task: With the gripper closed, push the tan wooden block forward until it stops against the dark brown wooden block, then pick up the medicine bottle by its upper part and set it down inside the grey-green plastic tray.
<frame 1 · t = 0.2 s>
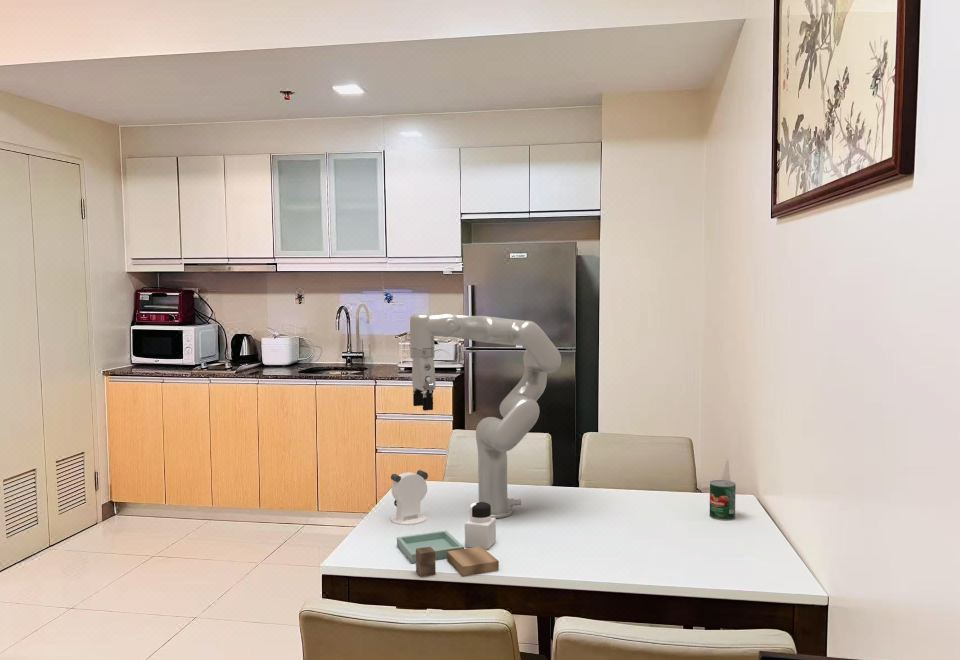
hand: (423, 407, 225), 37 cm above the table, tool pointing down, fingers open, 9 cm apart
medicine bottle: (480, 545, 207), on the table
panda figurine: (409, 519, 231), on the table
tray: (429, 550, 202), on the table
tan wooden block: (472, 567, 191), on the table
dark brown wooden block: (425, 572, 186), on the table
canned tomato: (722, 517, 230), on the table
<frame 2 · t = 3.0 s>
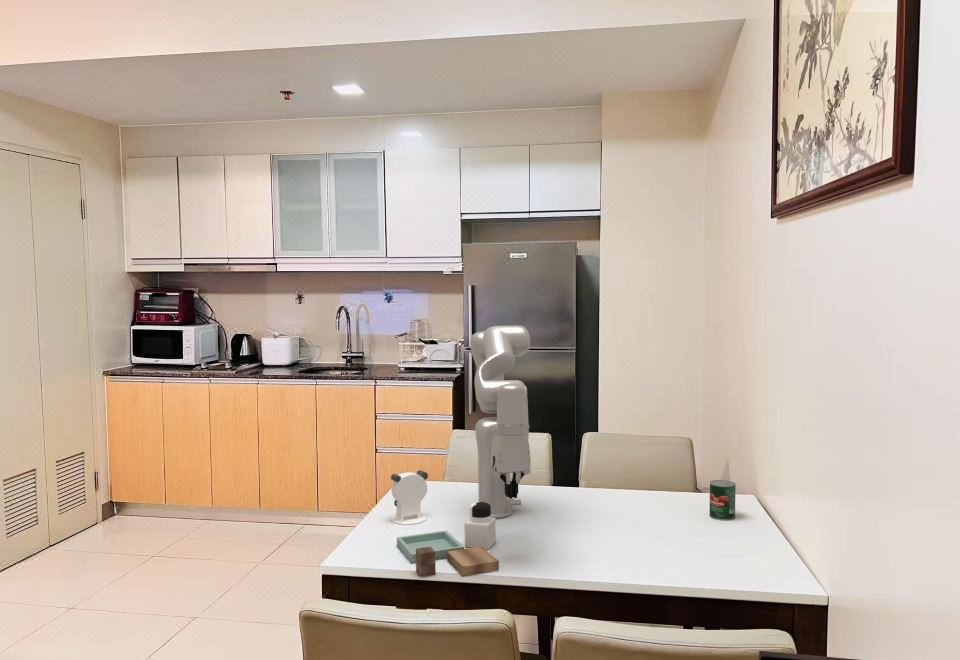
hand: (511, 496, 194), 17 cm above the table, tool pointing down, fingers closed
nothing on the table moved.
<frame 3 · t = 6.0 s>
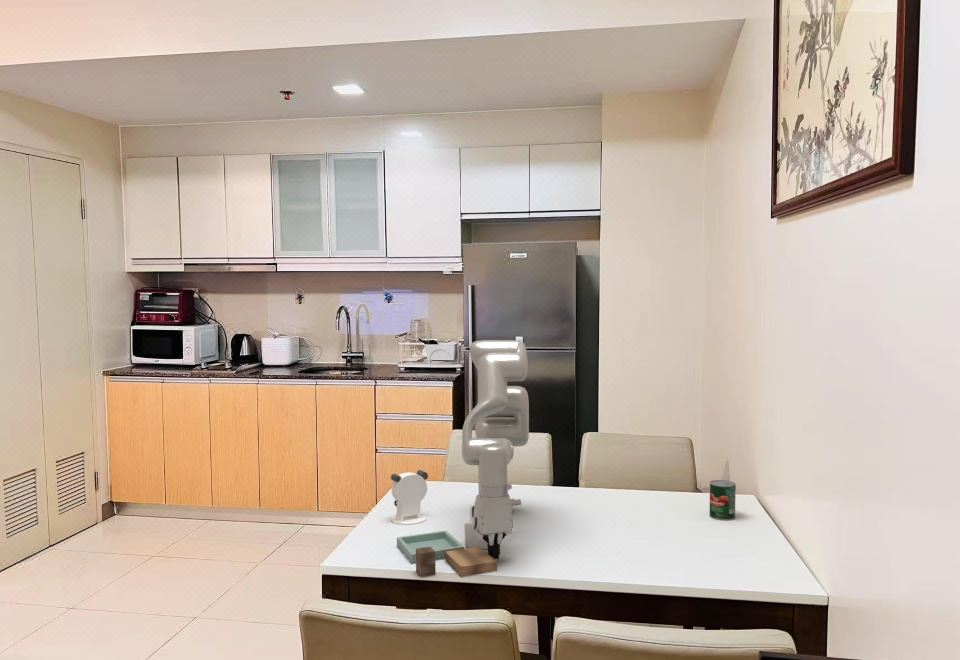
hand: (493, 557, 193), 1 cm above the table, tool pointing down, fingers closed
tan wooden block: (470, 567, 190), on the table, touching gripper
everything else where it was.
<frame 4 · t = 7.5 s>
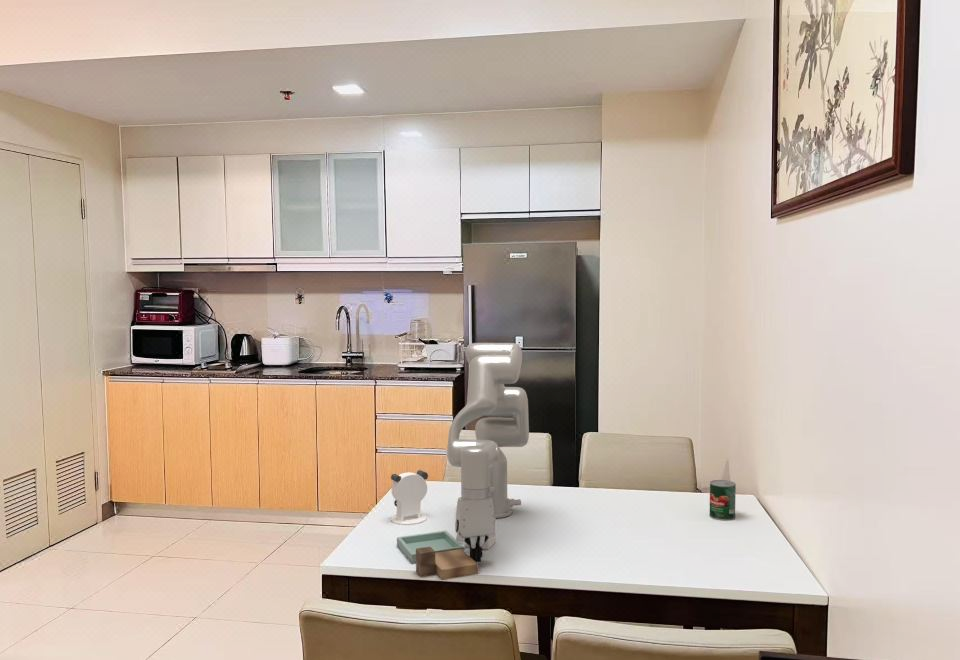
hand: (475, 560, 191), 1 cm above the table, tool pointing down, fingers closed
tan wooden block: (452, 570, 189), on the table
everything else where it was.
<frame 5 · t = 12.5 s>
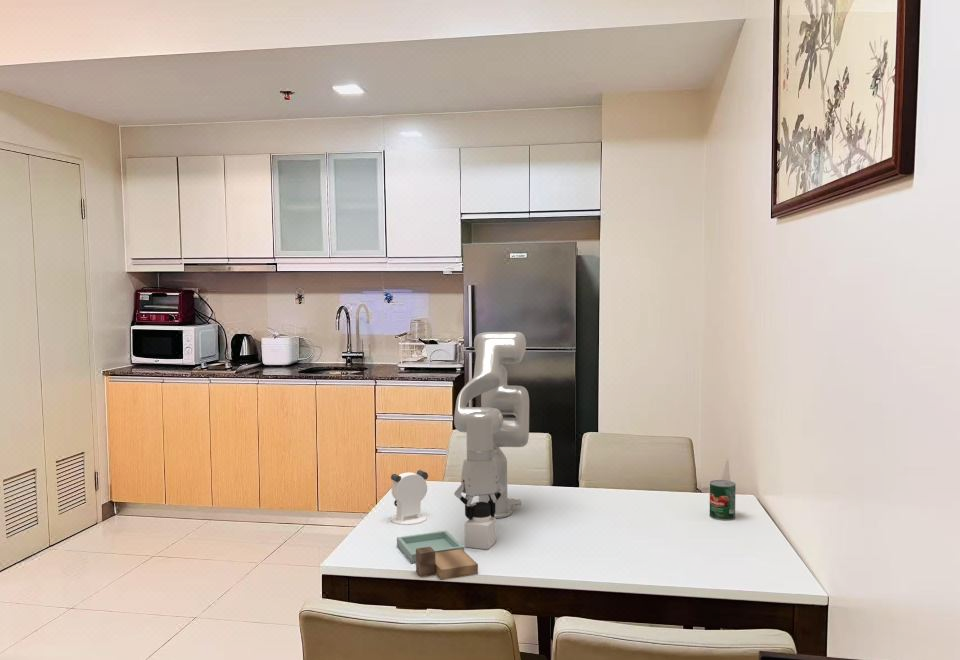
hand: (480, 516, 206), 8 cm above the table, tool pointing down, fingers closed on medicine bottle, 6 cm apart
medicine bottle: (480, 545, 207), on the table, touching gripper
everything else where it was.
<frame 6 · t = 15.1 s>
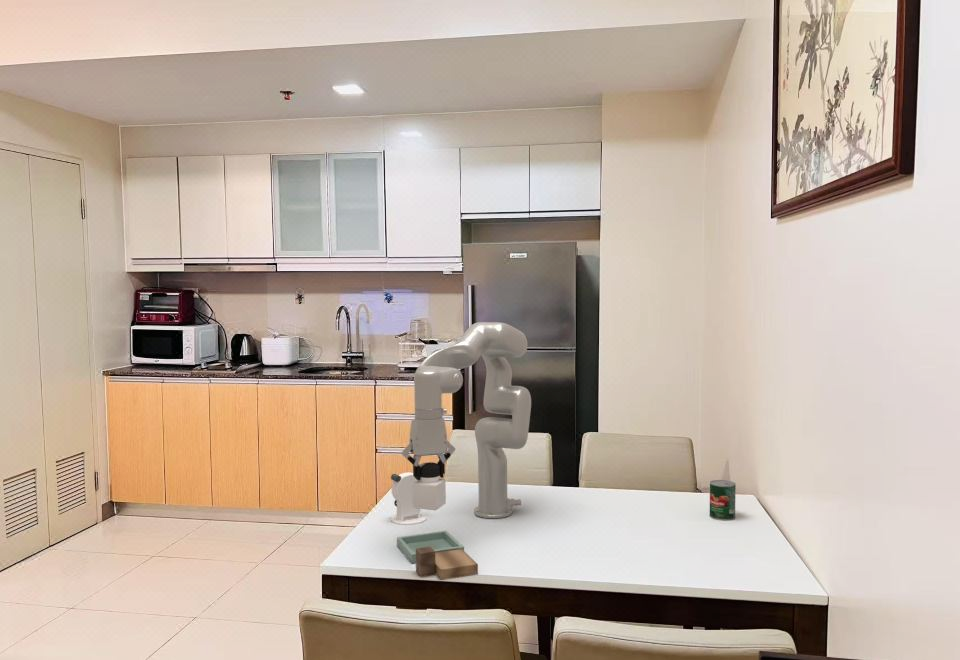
hand: (429, 477, 201), 21 cm above the table, tool pointing down, fingers closed on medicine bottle, 6 cm apart
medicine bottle: (429, 506, 201), point 13 cm above the table, touching gripper
everything else where it was.
when the fingers open (10 cm above the table, at t = 17.5 s): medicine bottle stays where it is, resting on tray.
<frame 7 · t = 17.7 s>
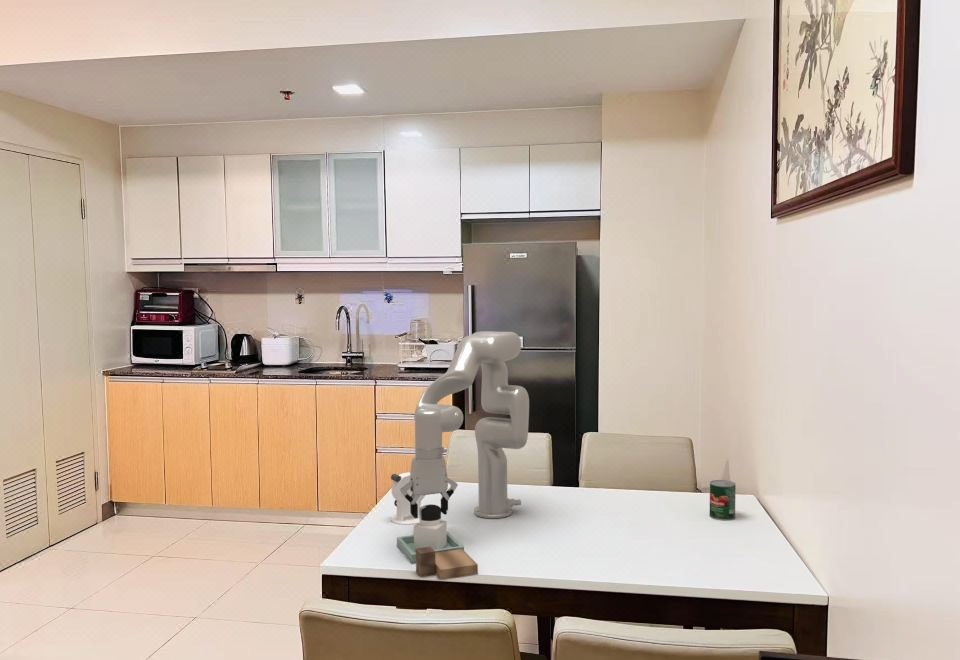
hand: (429, 514, 201), 10 cm above the table, tool pointing down, fingers open, 8 cm apart
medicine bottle: (430, 549, 202), resting on tray
everything else where it was.
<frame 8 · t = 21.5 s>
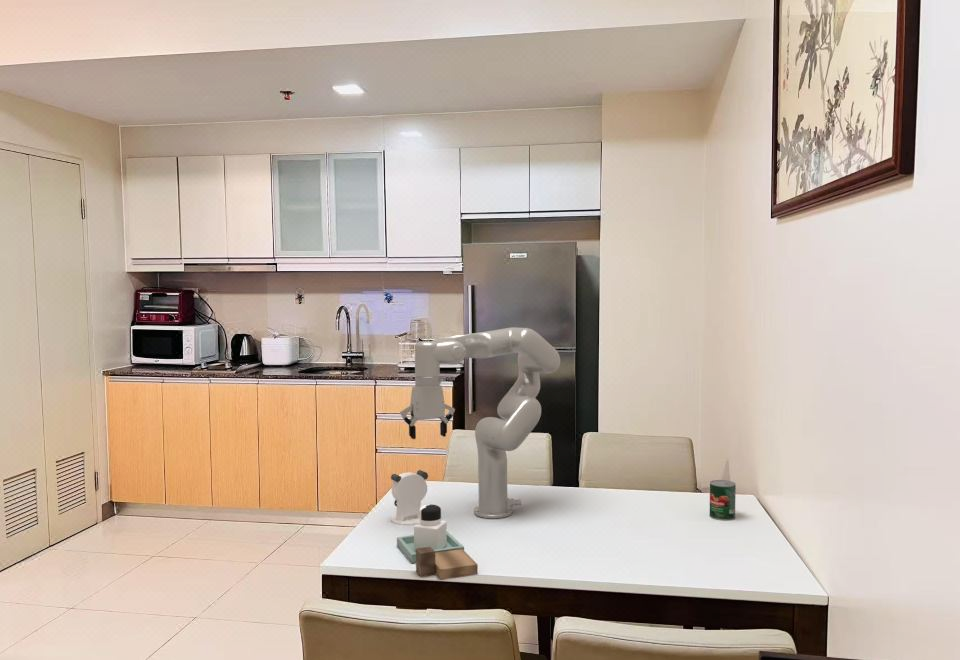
hand: (428, 437, 220), 28 cm above the table, tool pointing down, fingers open, 9 cm apart
nothing on the table moved.
at the end: tan wooden block inside the target area (0.4 cm from its centre), on the table; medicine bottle inside the target area on the tray (0.3 cm from its centre), point 0.4 cm above the tray's base; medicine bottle tilted 0° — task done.
